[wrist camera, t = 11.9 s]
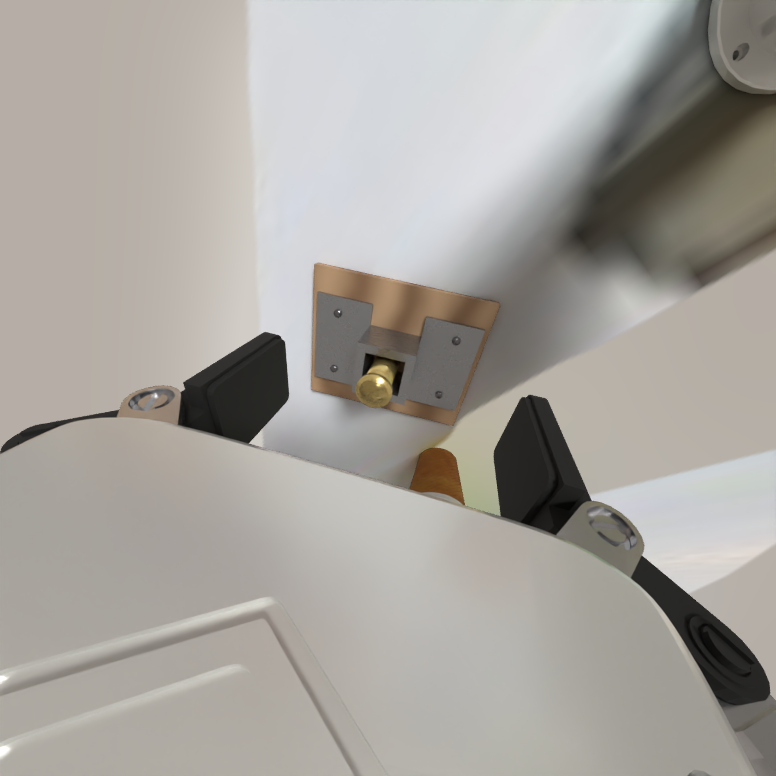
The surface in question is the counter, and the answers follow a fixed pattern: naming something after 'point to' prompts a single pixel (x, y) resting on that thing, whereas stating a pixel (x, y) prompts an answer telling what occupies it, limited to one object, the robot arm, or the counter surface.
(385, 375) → the hinge pin
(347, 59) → the counter surface
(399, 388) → the hinge
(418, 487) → the disposable coffee cup
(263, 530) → the robot arm
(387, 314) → the mount board
